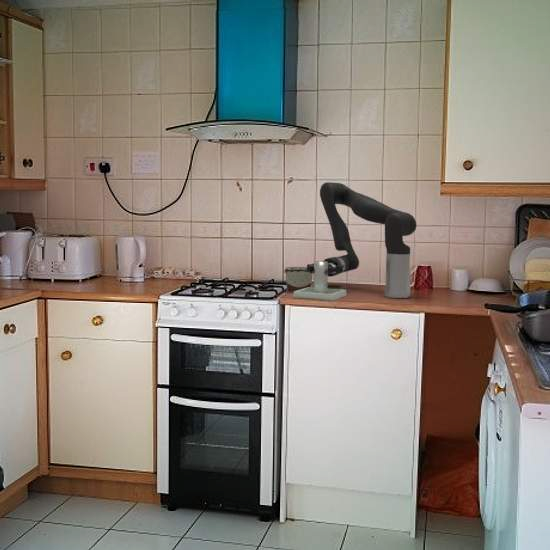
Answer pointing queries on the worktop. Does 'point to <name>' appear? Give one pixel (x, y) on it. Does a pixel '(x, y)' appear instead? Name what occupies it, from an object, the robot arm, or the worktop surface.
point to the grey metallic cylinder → (320, 277)
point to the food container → (297, 278)
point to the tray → (320, 294)
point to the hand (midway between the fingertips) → (319, 270)
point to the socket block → (337, 287)
